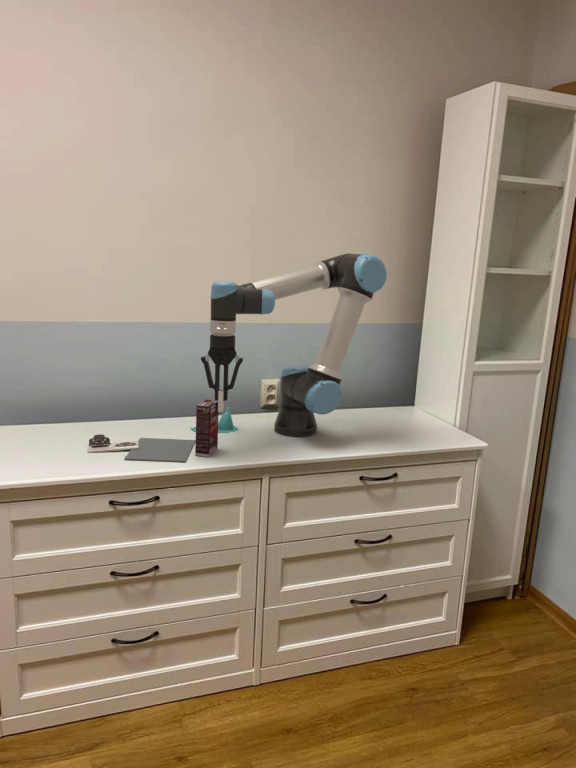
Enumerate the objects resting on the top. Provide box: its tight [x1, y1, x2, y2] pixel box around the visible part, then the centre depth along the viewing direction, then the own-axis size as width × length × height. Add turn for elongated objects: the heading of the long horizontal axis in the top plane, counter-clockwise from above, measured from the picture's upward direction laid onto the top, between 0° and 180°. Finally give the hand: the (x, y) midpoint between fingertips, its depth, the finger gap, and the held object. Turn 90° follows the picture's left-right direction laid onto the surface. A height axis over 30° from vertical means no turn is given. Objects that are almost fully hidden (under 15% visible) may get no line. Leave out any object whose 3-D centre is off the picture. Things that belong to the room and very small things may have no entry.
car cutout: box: [87, 433, 139, 454], centre depth 187 cm, size 15×7×4 cm, turn 105°
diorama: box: [190, 405, 239, 434], centre depth 212 cm, size 12×20×9 cm, turn 100°
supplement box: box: [194, 399, 220, 458], centre depth 186 cm, size 9×5×16 cm, turn 168°
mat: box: [123, 437, 196, 463], centre depth 188 cm, size 18×20×1 cm
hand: (220, 410), depth 185 cm, fingers closed
